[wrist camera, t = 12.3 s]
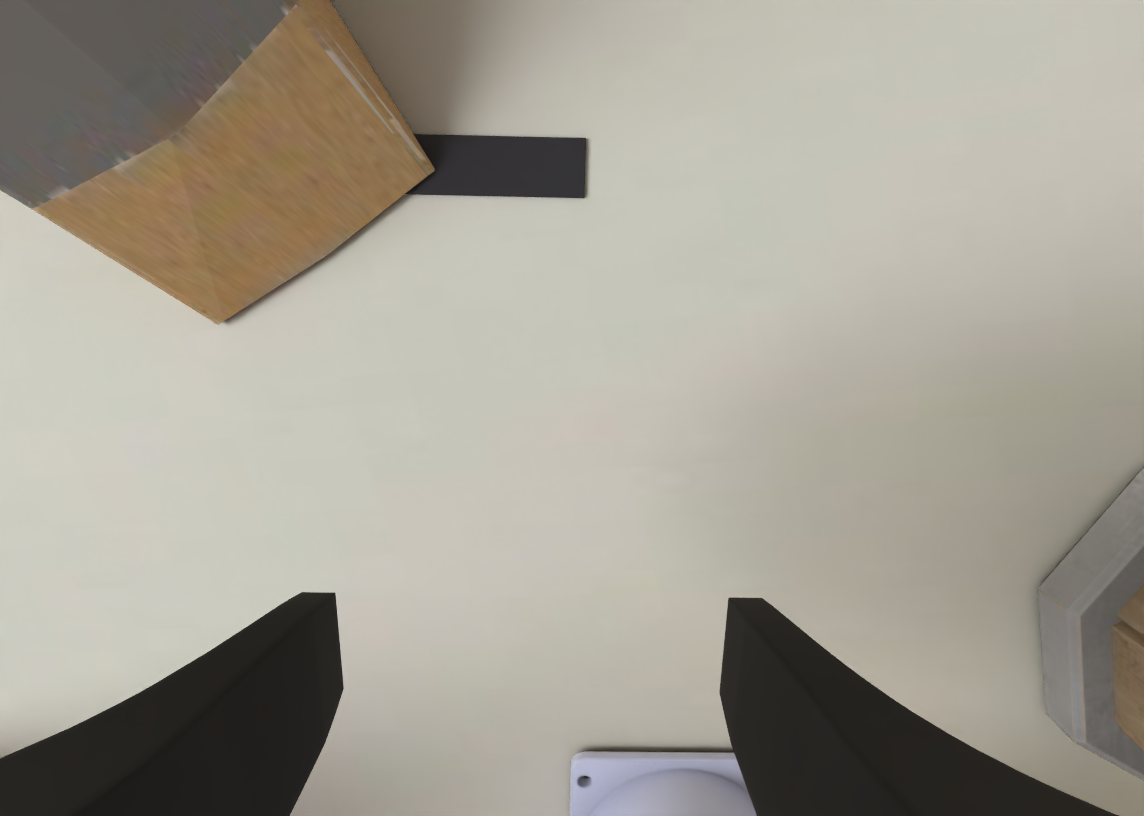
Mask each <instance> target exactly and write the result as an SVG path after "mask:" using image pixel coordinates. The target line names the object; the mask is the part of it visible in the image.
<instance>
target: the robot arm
mask: <svg viewBox="0 0 1144 816" xmlns="http://www.w3.org/2000/svg"><path fill="white" fill-rule="evenodd" d="M343 689H344V688H343V677H342V665H341V654H340V642H339V630H338V619H337V607H336V596H335V593H309V592H302V593H300V594H298V595H296V596H294V597H293V598H291V599H289V600H288V601H286V602H284V603H283V604H281V605H280V606H278V607H276V608H275V609H273V610H272V611H270V612H269V613H267V614H266V615H264V616H263V617H261V618H260V619H258V620H257V621H255V622H254V623H252V624H251V625H249V626H248V627H246V628H244V629H243V630H241V631H240V632H238V633H237V634H235V635H234V636H232V637H231V638H229V639H227V640H226V641H224V642H223V643H221V644H220V645H218V646H217V647H215V648H214V649H212V650H211V651H209V652H207V653H206V654H204V655H202V656H201V657H199V658H197V659H196V660H194V661H192V662H191V663H189V664H187V665H186V666H184V667H182V668H181V669H179V670H177V671H176V672H174V673H172V674H171V675H169V676H167V677H166V678H164V679H162V680H161V681H159V682H157V683H156V684H154V685H152V686H150V687H149V688H147V689H145V690H143V691H142V692H140V693H138V694H136V695H134V696H132V697H130V698H129V699H127V700H125V701H123V702H121V703H119V704H117V705H115V706H113V707H111V708H109V709H107V710H105V711H103V712H101V713H99V714H97V715H95V716H93V717H91V718H89V719H87V720H86V721H84V722H81V723H79V724H77V725H75V726H73V727H71V728H69V729H67V730H64V731H62V732H60V733H58V734H55V735H53V736H51V737H48V738H46V739H44V740H41V741H39V742H37V743H35V744H32V745H30V746H28V747H25V748H23V749H21V750H19V751H16V752H14V753H12V754H9V755H7V756H5V757H3V758H0V816H290V814H291V812H292V810H293V808H294V806H295V804H296V802H297V800H298V798H299V796H300V794H301V792H302V790H303V788H304V785H305V783H306V781H307V779H308V777H309V775H310V773H311V771H312V769H313V767H314V765H315V763H316V761H317V759H318V757H319V754H320V752H321V750H322V748H323V746H324V744H325V742H326V739H327V736H328V733H329V730H330V728H331V725H332V722H333V719H334V716H335V713H336V710H337V707H338V704H339V701H340V698H341V695H342V692H343ZM720 696H721V701H722V706H723V710H724V715H725V719H726V724H727V728H728V732H729V736H730V741H731V745H732V748H733V751H734V753H706V752H592V751H585V752H579V753H577V754H576V755H574V757H573V758H572V761H571V783H570V816H1118V815H1115V814H1113V813H1110V812H1108V811H1105V810H1103V809H1101V808H1099V807H1096V806H1094V805H1092V804H1089V803H1087V802H1085V801H1082V800H1080V799H1078V798H1076V797H1073V796H1071V795H1069V794H1066V793H1064V792H1062V791H1059V790H1057V789H1055V788H1053V787H1051V786H1049V785H1046V784H1044V783H1042V782H1040V781H1038V780H1036V779H1034V778H1032V777H1029V776H1027V775H1025V774H1023V773H1021V772H1019V771H1017V770H1015V769H1013V768H1011V767H1009V766H1007V765H1006V764H1004V763H1002V762H1000V761H998V760H996V759H994V758H992V757H990V756H988V755H986V754H984V753H982V752H980V751H978V750H976V749H975V748H973V747H971V746H969V745H967V744H966V743H964V742H962V741H960V740H958V739H957V738H955V737H953V736H951V735H950V734H948V733H946V732H945V731H943V730H941V729H940V728H938V727H936V726H935V725H933V724H931V723H930V722H928V721H926V720H925V719H923V718H922V717H920V716H918V715H917V714H915V713H913V712H912V711H910V710H909V709H907V708H906V707H904V706H902V705H901V704H899V703H898V702H896V701H895V700H893V699H892V698H890V697H889V696H888V695H886V694H885V693H883V692H882V691H881V690H879V689H878V688H876V687H875V686H873V685H872V684H871V683H869V682H868V681H866V680H865V679H864V678H862V677H861V676H859V675H858V674H857V673H855V672H854V671H853V670H851V669H850V668H849V667H847V666H846V665H845V664H843V663H842V662H841V661H840V660H838V659H837V658H836V657H834V656H833V655H832V654H831V653H829V652H828V651H827V650H826V649H824V648H823V647H822V646H821V645H819V644H818V643H817V642H816V641H814V640H813V639H812V638H811V637H809V636H808V635H807V634H806V633H805V632H803V631H802V630H801V629H800V628H799V627H797V626H796V625H795V624H794V623H793V622H791V621H790V620H789V619H788V618H786V617H785V616H784V615H783V614H782V613H780V612H779V611H778V610H777V609H775V608H774V607H773V606H772V605H770V604H769V603H768V602H766V601H765V600H764V599H762V598H729V599H728V610H727V620H726V631H725V641H724V652H723V662H722V673H721V684H720ZM581 776H589V777H588V778H585V779H583V778H580V777H581Z"/></svg>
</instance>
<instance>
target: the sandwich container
mask: <svg viewBox="0 0 1144 816" xmlns="http://www.w3.org/2000/svg"><path fill="white" fill-rule="evenodd" d="M434 171H435V168H434V167H433V165H432V163H431V162H430V160H429V159H428V157H427V155H426V154H425V152H424V151H423V149H422V147H421V146H420V144H419V143H418V141H417V139H416V138H415V136H414V135H413V133H412V131H411V130H410V128H409V127H408V125H407V123H406V122H405V120H404V119H403V117H402V115H401V114H400V112H399V111H398V109H397V107H396V106H395V104H394V103H393V101H392V99H391V98H390V96H389V94H388V93H387V91H386V90H385V88H384V86H383V85H382V83H381V82H380V80H379V78H378V77H377V75H376V74H375V72H374V70H373V69H372V67H371V66H370V64H369V62H368V61H367V59H366V58H365V56H364V54H363V53H362V51H361V50H360V48H359V46H358V45H357V43H356V42H355V40H354V38H353V37H352V35H351V34H350V32H349V30H348V29H347V27H346V26H345V24H344V22H343V21H342V19H341V18H340V16H339V14H338V13H337V11H336V10H335V8H334V6H333V5H332V3H331V2H330V0H0V190H1V191H3V192H4V193H6V194H8V195H9V196H11V197H13V198H14V199H16V200H18V201H19V202H21V203H23V204H24V205H26V206H28V207H29V208H31V209H32V210H34V211H36V212H37V213H39V214H41V215H42V216H44V217H45V218H47V219H49V220H50V221H52V222H53V223H55V224H57V225H58V226H60V227H62V228H63V229H65V230H66V231H68V232H70V233H71V234H73V235H74V236H76V237H78V238H79V239H81V240H82V241H84V242H86V243H87V244H89V245H91V246H92V247H94V248H95V249H97V250H99V251H100V252H102V253H103V254H105V255H107V256H108V257H110V258H112V259H113V260H115V261H116V262H118V263H120V264H121V265H123V266H124V267H126V268H128V269H129V270H131V271H132V272H134V273H136V274H137V275H139V276H141V277H142V278H144V279H145V280H147V281H149V282H150V283H152V284H153V285H155V286H157V287H158V288H160V289H162V290H163V291H165V292H166V293H168V294H170V295H171V296H173V297H174V298H176V299H178V300H179V301H181V302H182V303H184V304H186V305H187V306H189V307H191V308H192V309H194V310H195V311H197V312H198V313H200V314H202V315H203V316H205V317H206V318H208V319H210V320H211V321H213V322H214V323H216V324H218V325H219V324H220V323H222V322H223V321H225V320H226V319H228V318H229V317H231V316H232V315H234V314H236V313H237V312H239V311H240V310H242V309H244V308H245V307H247V306H248V305H250V304H251V303H253V302H255V301H256V300H258V299H259V298H261V297H262V296H264V295H266V294H267V293H269V292H270V291H272V290H273V289H275V288H277V287H278V286H280V285H281V284H283V283H284V282H286V281H288V280H289V279H291V278H292V277H294V276H295V275H297V274H299V273H300V272H302V271H303V270H305V269H306V268H308V267H310V266H311V265H313V264H314V263H316V262H318V261H319V260H321V259H322V258H324V257H325V256H327V255H328V254H329V253H331V252H332V251H333V250H335V249H336V248H337V247H338V246H340V245H341V244H342V243H343V242H345V241H346V240H347V239H348V238H350V237H351V236H352V235H354V234H355V233H356V232H357V231H359V230H360V229H361V228H362V227H364V226H365V225H366V224H367V223H369V222H370V221H371V220H372V219H374V218H375V217H376V216H378V215H379V214H380V213H381V212H383V211H384V210H385V209H386V208H388V207H389V206H390V205H391V204H393V203H394V202H395V201H396V200H398V199H399V198H400V197H402V196H403V195H404V194H405V193H407V192H408V191H409V190H410V189H412V188H413V187H414V186H415V185H417V184H418V183H419V182H420V181H422V180H423V179H424V178H425V177H427V176H428V175H429V174H431V173H432V172H434Z"/></svg>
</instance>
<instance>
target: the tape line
mask: <svg viewBox="0 0 1144 816" xmlns="http://www.w3.org/2000/svg"><path fill="white" fill-rule="evenodd" d="M413 135H414V136H415V138H416V139H417V141H418V143H419V144H420V146H421V147H422V149H423V151H424V152H425V154H426V155H427V157H428V159H429V160H430V162H431V163H432V165H433V167H434V168H435V171H434V172H432V173H431V174H429V175H428V176H427V177H425V178H424V179H423V180H422V181H420V182H419V183H418V184H417V185H415V186H414V187H413V188H412V189H410V190H409V191H408V192H407V193H405V194H426V195H473V196H519V197H566V198H584V190H585V148H586V138H553V137H509V136H466V135H422V134H413Z"/></svg>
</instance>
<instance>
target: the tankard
mask: <svg viewBox="0 0 1144 816" xmlns="http://www.w3.org/2000/svg"><path fill="white" fill-rule="evenodd" d="M1038 602H1039V617H1040V631H1041V646H1042V661H1043V676H1044V690H1045V705H1046V714H1047V715H1048V716H1049V717H1050V719H1051V720H1052V721H1053V722H1054V723H1055V724H1056V725H1057V726H1058V727H1059V728H1060V729H1061V730H1062V731H1063V732H1064V733H1065V734H1066V735H1067V736H1068V737H1069V738H1070V739H1071V740H1072V741H1073V742H1075V743H1077V744H1079V745H1081V746H1082V747H1084V748H1086V749H1088V750H1090V751H1091V752H1093V753H1095V754H1097V755H1098V756H1100V757H1102V758H1104V759H1106V760H1107V761H1109V762H1111V763H1113V764H1115V765H1116V766H1118V767H1120V768H1122V769H1123V770H1125V771H1127V772H1129V773H1131V774H1132V775H1134V776H1136V777H1138V778H1140V779H1141V780H1143V781H1144V468H1143V469H1142V470H1141V471H1140V472H1139V473H1138V474H1137V476H1136V477H1135V478H1134V479H1133V480H1132V481H1131V482H1130V484H1129V485H1128V486H1127V487H1126V488H1125V489H1124V490H1123V492H1122V493H1121V494H1120V495H1119V496H1118V497H1117V498H1116V500H1115V501H1114V502H1113V503H1112V504H1111V505H1110V506H1109V508H1108V509H1107V510H1106V511H1105V512H1104V513H1103V514H1102V516H1101V517H1100V518H1099V519H1098V520H1097V521H1096V522H1095V524H1094V525H1093V526H1092V527H1091V528H1090V529H1089V530H1088V532H1087V533H1086V534H1085V535H1084V536H1083V537H1082V538H1081V540H1080V541H1079V542H1078V543H1077V544H1076V545H1075V546H1074V548H1073V549H1072V550H1071V551H1070V552H1069V553H1068V554H1067V556H1066V557H1065V558H1064V559H1063V560H1062V561H1061V562H1060V564H1059V565H1058V566H1057V567H1056V568H1055V569H1054V570H1053V572H1052V573H1051V574H1050V575H1049V576H1048V577H1047V578H1046V580H1045V581H1044V582H1043V583H1042V584H1041V585H1040V587H1039V588H1038Z"/></svg>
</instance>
